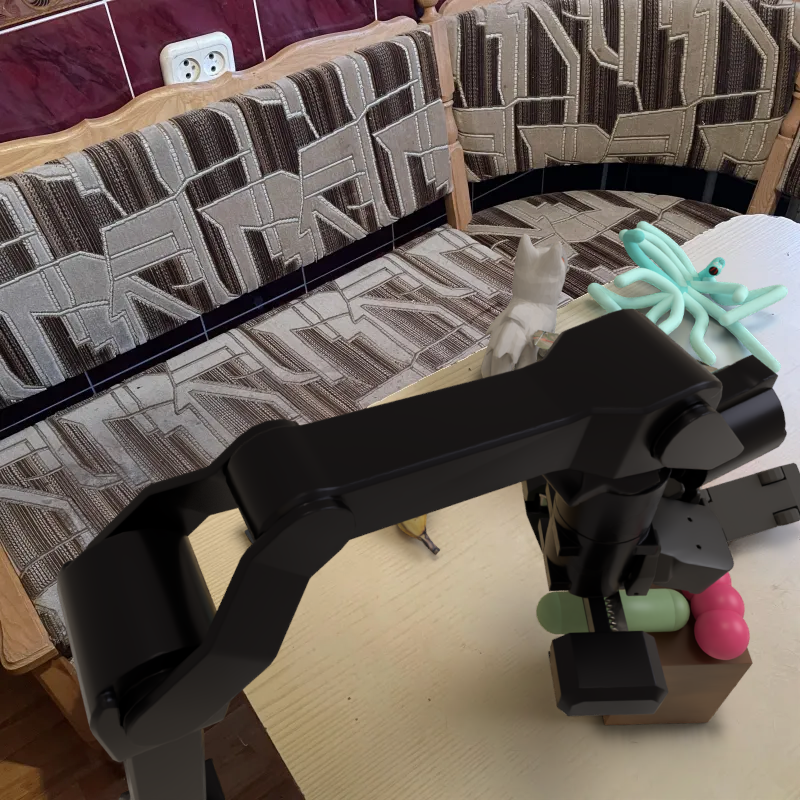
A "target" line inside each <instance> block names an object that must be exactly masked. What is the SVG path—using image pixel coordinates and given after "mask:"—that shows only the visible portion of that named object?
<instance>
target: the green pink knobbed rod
mask: <svg viewBox="0 0 800 800" xmlns="http://www.w3.org/2000/svg"><path fill="white" fill-rule="evenodd" d="M729 572H730V571H729ZM729 572H728V573H726V574H725V575H724V576H722V577H721V578H720V579H719V580H717V581H716V582H715V583H714V584H712V585H711V586H710V587H708V588H707V589H706V590H705V591H703V592H702V593H700V594H693V593H689V591H685V590H682V592H683V594H684V595H685V597H686V598H687V599H688V600H690V601H691V611H692V614H693V616H694V618H695V619H696V622H695V626H694V634H695V638H696V641H697V643H698V645H699V646H700V648H701V649H702V650H703V651H704V652H705V653H706V654H708V655H709V656H711V657H713V658H716V659H721V660H730V659H734V658H736V657H738V656H740V655H741V654H742V653H743V652H744V651H745V650H746V648H748V646H749V643H750V639H751V634H750V628H749V625H748V623H747V621H746V620H745V618H744V617H745V611H746V608H745V607H746V606H745V603H744V599H743V597H742V595H741V594H740V592H739V591H738V590H737V589H736V588H735V587H734V586H733V583H732V577H731V575H730V573H729ZM619 592H620V597H621V601H622V605H623V609H624V613H625V618H626V622H627V626H628V630H629V631H644V632H671V631H676V630H679V629H681V628H682V627H683V626H684V625H685V624H686V623H687V621H688V619H689V616H690V608H689V604H688V602H687V600H686V599H685V598H684V596H683V595H682V594H680V593H679V592H677V591H675V590H672V589H649V591H648V593H647V595H646V596H627V595H626V592H625V590H619ZM605 598H607V597H605ZM605 598H604V600H605ZM605 604H607V603H606V602H605ZM606 609H607V610H608V608H606ZM535 610H536V611H535V613H536V614H535V615H536V620H537V621H538V624H539V625H540V626H541V627H542V629H543V630H545V631H546V632H548V633H550V634H553V635H565V634H567V633H574V632H589V631H588V626H587V621H586V616H585V611H584V606H583V601H582V598H581V597H578V596H575V595H572V594H570V593H569V592H568V591H549V592H548V593H546V594H544V595H543V596H542V597H541V598H540V599H539V601H538V602H537V605H536V609H535ZM609 615H610V614H608V616H609ZM610 621H612V620H609V622H610ZM610 627H614V626H610Z"/></svg>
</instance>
